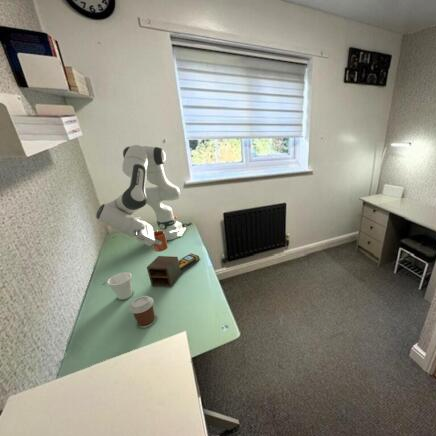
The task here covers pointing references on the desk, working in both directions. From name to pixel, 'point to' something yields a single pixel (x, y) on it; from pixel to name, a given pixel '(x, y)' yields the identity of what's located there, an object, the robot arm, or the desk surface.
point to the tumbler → (160, 240)
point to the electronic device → (187, 261)
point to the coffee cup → (143, 311)
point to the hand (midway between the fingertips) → (160, 240)
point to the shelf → (164, 266)
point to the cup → (121, 285)
